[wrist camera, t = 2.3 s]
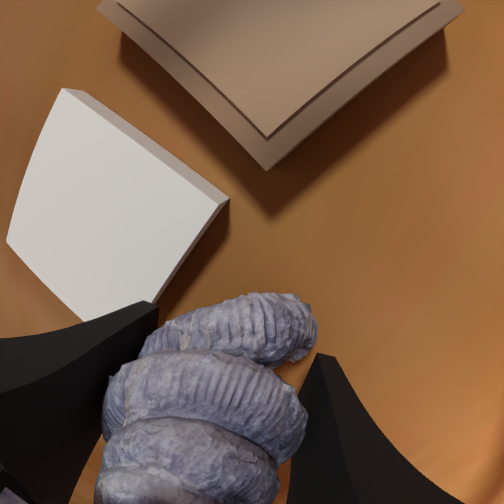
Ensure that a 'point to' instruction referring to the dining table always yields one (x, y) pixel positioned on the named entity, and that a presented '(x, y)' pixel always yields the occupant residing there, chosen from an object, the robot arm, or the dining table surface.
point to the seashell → (207, 406)
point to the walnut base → (277, 56)
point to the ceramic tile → (106, 209)
